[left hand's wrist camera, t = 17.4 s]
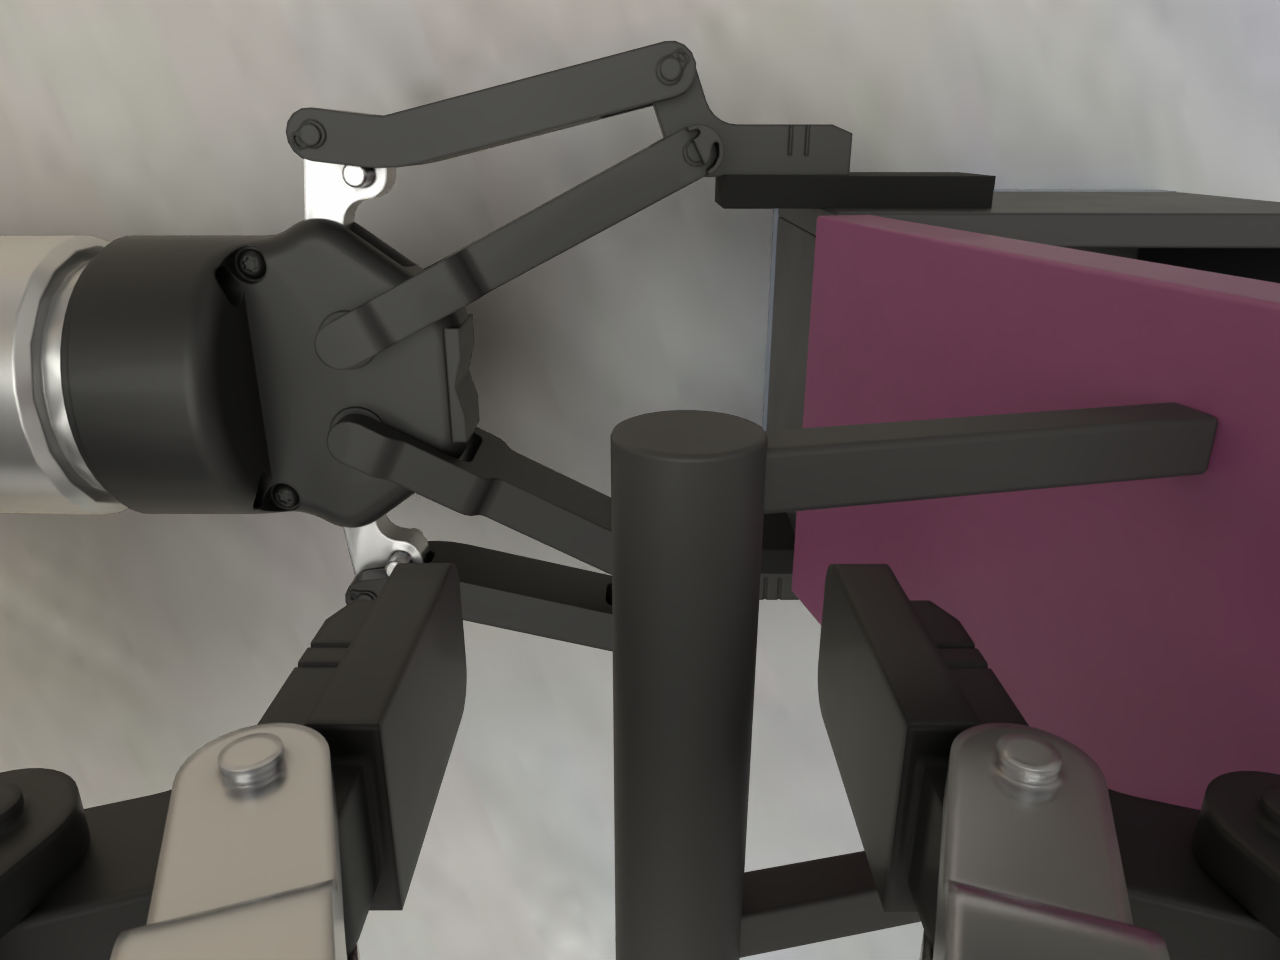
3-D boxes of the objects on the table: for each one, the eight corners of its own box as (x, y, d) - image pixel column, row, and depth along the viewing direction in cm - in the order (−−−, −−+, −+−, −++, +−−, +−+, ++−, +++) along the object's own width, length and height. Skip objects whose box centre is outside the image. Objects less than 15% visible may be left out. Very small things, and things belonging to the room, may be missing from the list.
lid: (1584, 333, 8) (683, 384, 6) (1304, 1079, 11) (666, 1250, 9) (870, 214, 20) (504, 220, 18) (837, 585, 23) (524, 619, 21)
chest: (1160, 189, 30) (1400, 213, 20) (1109, 452, 33) (1295, 577, 24) (774, 189, 30) (836, 211, 20) (761, 451, 33) (808, 575, 24)
